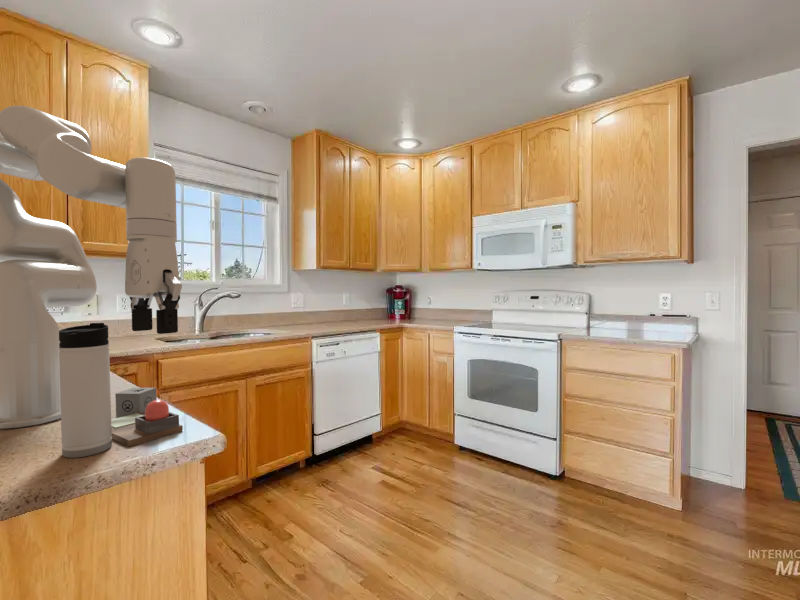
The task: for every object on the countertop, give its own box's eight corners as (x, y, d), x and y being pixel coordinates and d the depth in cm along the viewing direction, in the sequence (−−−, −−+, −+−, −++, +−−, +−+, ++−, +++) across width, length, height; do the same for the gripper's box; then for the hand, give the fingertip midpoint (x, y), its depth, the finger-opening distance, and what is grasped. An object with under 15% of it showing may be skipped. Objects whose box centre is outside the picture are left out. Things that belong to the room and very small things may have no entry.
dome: (141, 422, 71) (140, 400, 71) (162, 417, 74) (162, 396, 74) (151, 426, 69) (150, 403, 69) (172, 420, 72) (172, 399, 72)
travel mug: (122, 441, 68) (118, 322, 68) (93, 458, 61) (89, 325, 61) (83, 442, 68) (80, 323, 67) (51, 459, 61) (47, 326, 61)
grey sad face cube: (139, 418, 81) (139, 393, 81) (116, 418, 81) (115, 393, 81) (156, 411, 86) (156, 387, 86) (134, 411, 86) (133, 387, 86)
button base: (92, 429, 74) (91, 413, 74) (143, 417, 81) (143, 402, 81) (129, 446, 66) (128, 428, 66) (182, 431, 73) (182, 414, 73)
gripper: (106, 234, 73) (109, 331, 73) (153, 225, 63) (155, 336, 63) (151, 238, 79) (153, 327, 79) (200, 230, 69) (202, 332, 70)
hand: (154, 331), depth 71 cm, fingers open, 8 cm apart
